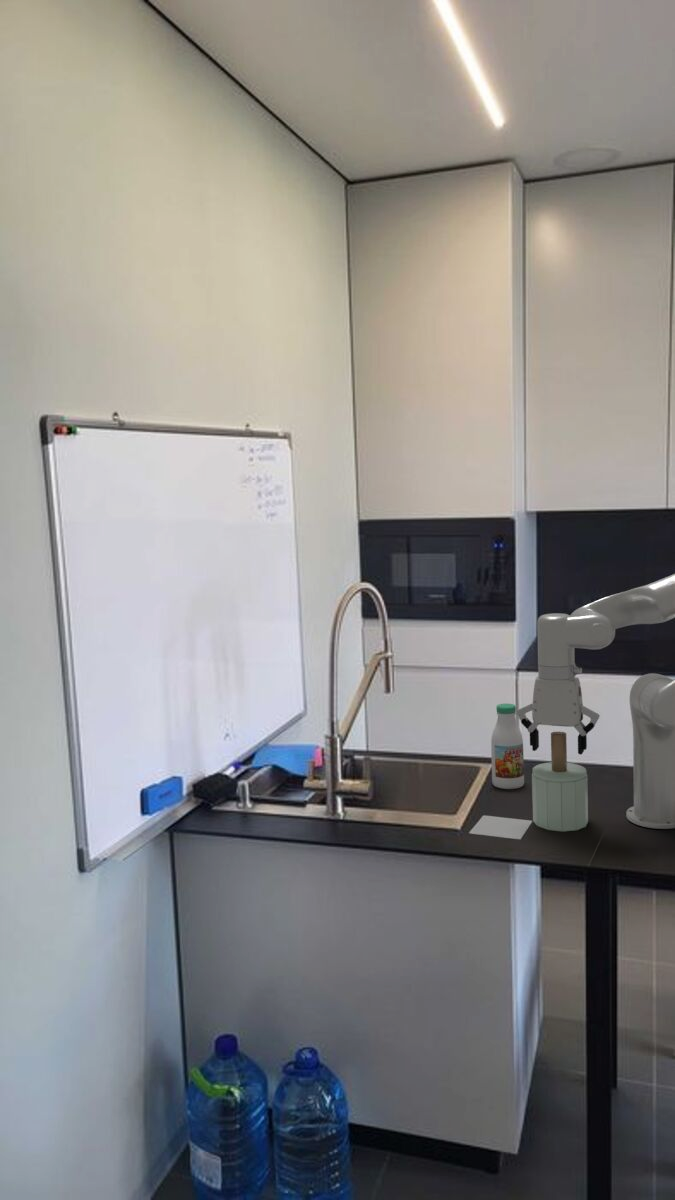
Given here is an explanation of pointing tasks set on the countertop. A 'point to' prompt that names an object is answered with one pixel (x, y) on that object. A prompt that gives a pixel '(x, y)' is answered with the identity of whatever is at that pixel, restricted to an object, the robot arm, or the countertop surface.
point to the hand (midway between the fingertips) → (558, 750)
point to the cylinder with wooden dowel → (559, 790)
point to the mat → (501, 827)
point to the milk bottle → (507, 750)
